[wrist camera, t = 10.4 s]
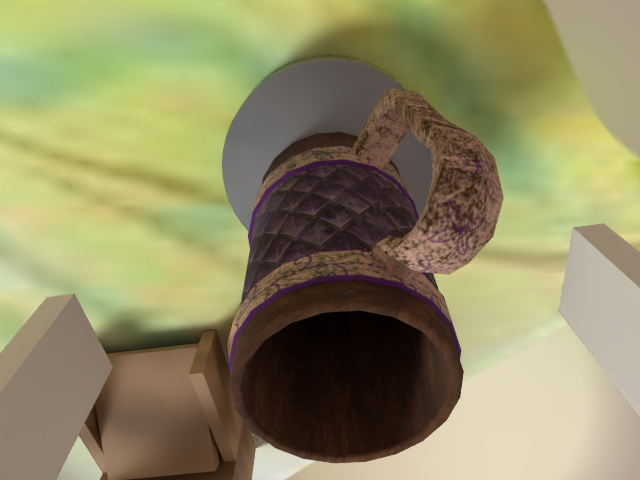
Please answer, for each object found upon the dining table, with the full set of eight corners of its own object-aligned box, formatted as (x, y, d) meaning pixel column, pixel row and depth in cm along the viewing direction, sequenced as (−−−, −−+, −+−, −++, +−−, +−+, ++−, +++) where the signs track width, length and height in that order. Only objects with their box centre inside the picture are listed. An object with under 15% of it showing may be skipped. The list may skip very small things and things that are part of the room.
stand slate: (206, 72, 20) (196, 80, 18) (425, 39, 20) (436, 44, 18) (253, 256, 25) (248, 276, 23) (429, 234, 24) (437, 252, 23)
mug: (361, 281, 24) (398, 513, 13) (237, 232, 22) (165, 449, 12) (473, 105, 19) (665, 244, 9) (325, 27, 17) (340, 81, 7)
